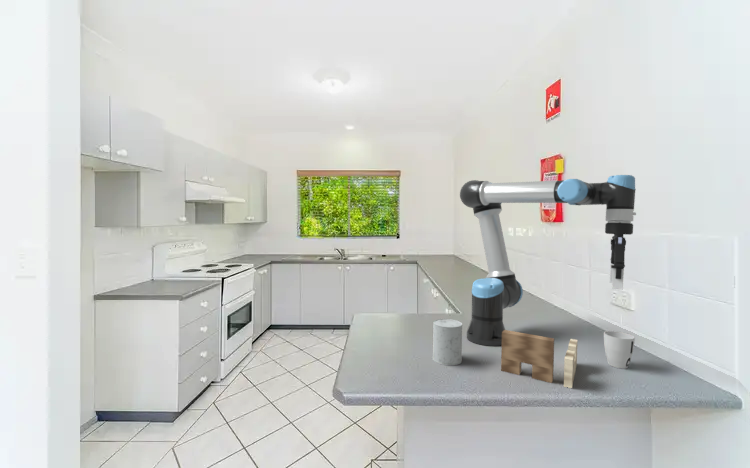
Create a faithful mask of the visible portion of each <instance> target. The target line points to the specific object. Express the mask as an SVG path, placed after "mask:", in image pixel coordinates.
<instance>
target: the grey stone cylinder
mask: <svg viewBox="0 0 750 468" xmlns="http://www.w3.org/2000/svg"><path fill="white" fill-rule="evenodd" d="M432 323H433V327H432V330H433V331H432V333H433V334H432V335H433V336H432V361H433V362H434V363H436V364H440V365H442V366H457V365H460V364H462V362H463V359H462V358H463V357H462V354H463V353H462V352H463V350H462V349H463V323H462V322H461V321H460V320H457V319H450V318H438V319H434V320H433V322H432Z"/></svg>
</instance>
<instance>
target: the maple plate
mask: <svg viewBox="0 0 750 468" xmlns="http://www.w3.org/2000/svg"><path fill="white" fill-rule="evenodd" d="M563 362H564V364H563V366H564V367H563V387H564V388H567V387H568V389H571V388H572V389H573V386H574V380H575V376H576V371H577V365H578V339H575V338H570V340H569V342H568V347H567V350H566V352H565V354H564V361H563Z"/></svg>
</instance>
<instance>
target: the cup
mask: <svg viewBox="0 0 750 468" xmlns="http://www.w3.org/2000/svg"><path fill="white" fill-rule="evenodd" d="M635 339H636V337H635V336H634V335H632V334H631V333H630V334H629V333H626V332H621V331H615V330H607V331H604V332H603V343H604V344H603V345H604V351H605V357H606V361H607V363H608V365H609V366H610V367H613V368H616V369H623V370H625V369H628V368H629V365H630V364H631V361H632V357H633V352H634V349H635V348H634V346H635Z"/></svg>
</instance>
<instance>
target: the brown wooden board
mask: <svg viewBox="0 0 750 468" xmlns="http://www.w3.org/2000/svg"><path fill="white" fill-rule="evenodd" d="M500 352H501V359H500V360H501V361H500V366H501V367H500V372H505V373H508V374H514V375H518V376H520V374H521V373H522V363H523V364H527V365H532V366H531V379H534V380H537V381H542V382H547V383H549V384H550V383H551V384H552V383H553V380H554V367H555V366H554V365H555V363H554V362H555V361H554V359H555V357H554V356H555V338H553V337H549V336H548V337H547V336H541V335H536V334H531V333H525V332H524V333H523V332H518V331H513V330H509V329H505V330H504V331H503V332H502V345H501V351H500Z"/></svg>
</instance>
